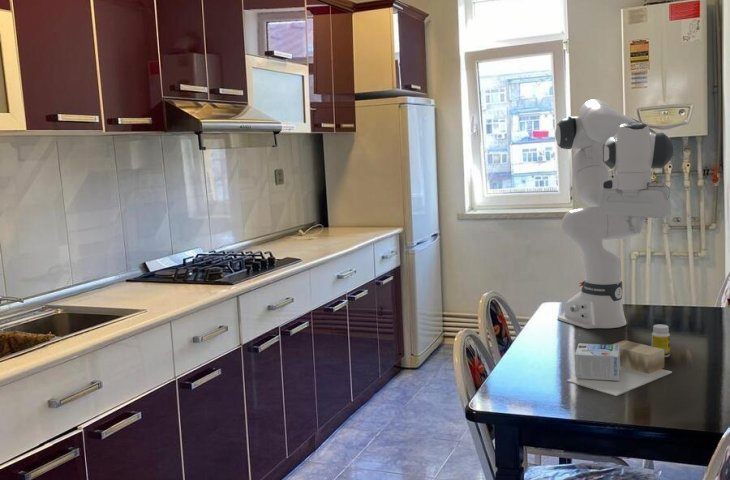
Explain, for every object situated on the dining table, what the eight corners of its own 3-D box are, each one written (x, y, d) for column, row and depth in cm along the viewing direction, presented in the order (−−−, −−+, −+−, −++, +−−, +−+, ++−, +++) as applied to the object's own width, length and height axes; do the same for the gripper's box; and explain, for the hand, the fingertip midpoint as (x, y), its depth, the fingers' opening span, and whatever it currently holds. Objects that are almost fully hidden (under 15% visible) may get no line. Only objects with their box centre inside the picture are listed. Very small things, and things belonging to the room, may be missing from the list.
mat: (566, 381, 175) (566, 380, 175) (623, 360, 188) (623, 359, 188) (616, 396, 163) (616, 395, 163) (672, 372, 177) (672, 371, 177)
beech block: (608, 345, 185) (649, 355, 175) (624, 340, 189) (664, 349, 179) (608, 363, 186) (648, 373, 176) (624, 357, 190) (664, 367, 180)
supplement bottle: (671, 357, 188) (671, 328, 187) (653, 357, 189) (653, 328, 188) (667, 352, 193) (667, 323, 192) (650, 352, 194) (650, 323, 193)
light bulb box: (577, 342, 184) (620, 344, 180) (578, 366, 185) (620, 368, 181) (574, 354, 174) (619, 356, 170) (575, 379, 175) (620, 382, 171)
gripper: (676, 182, 179) (675, 234, 181) (609, 181, 195) (609, 228, 197) (662, 183, 175) (662, 236, 177) (595, 182, 192) (595, 231, 194)
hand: (633, 232), depth 187 cm, fingers closed
